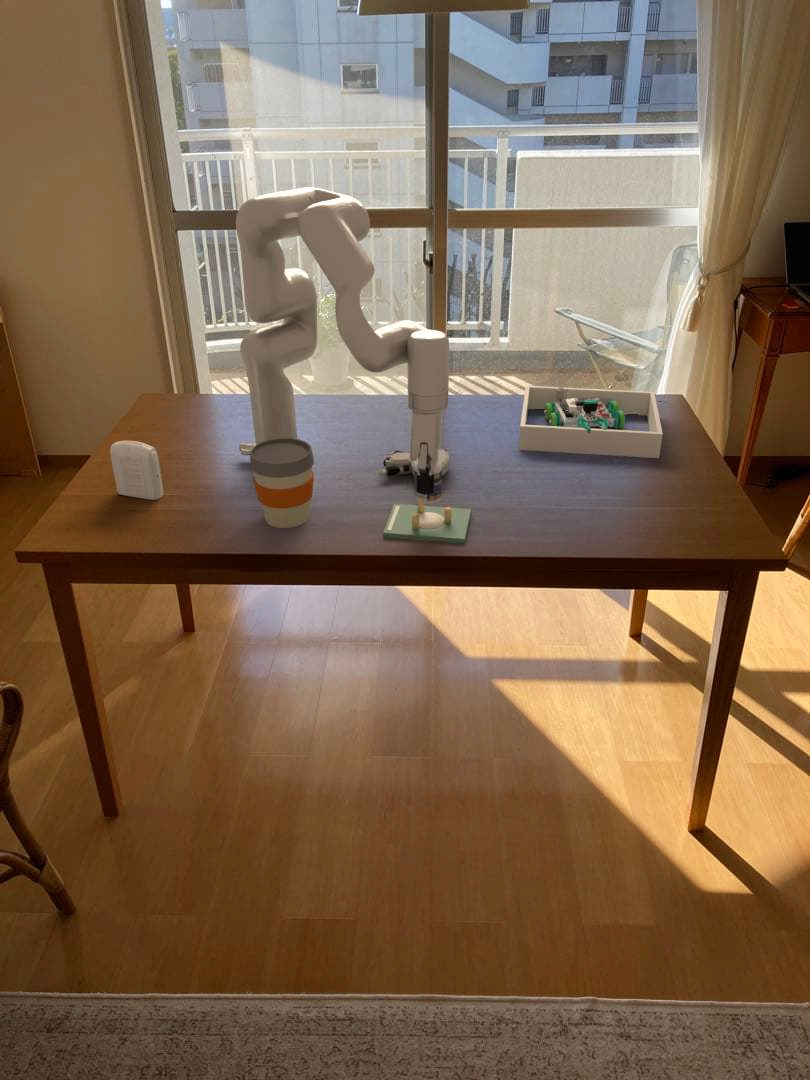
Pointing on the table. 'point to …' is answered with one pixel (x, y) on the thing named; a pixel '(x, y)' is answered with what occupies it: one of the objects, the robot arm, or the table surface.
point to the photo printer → (136, 470)
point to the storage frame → (598, 438)
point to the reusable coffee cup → (283, 480)
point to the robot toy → (409, 463)
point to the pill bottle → (437, 484)
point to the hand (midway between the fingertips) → (427, 484)
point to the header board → (428, 523)
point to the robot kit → (583, 412)
